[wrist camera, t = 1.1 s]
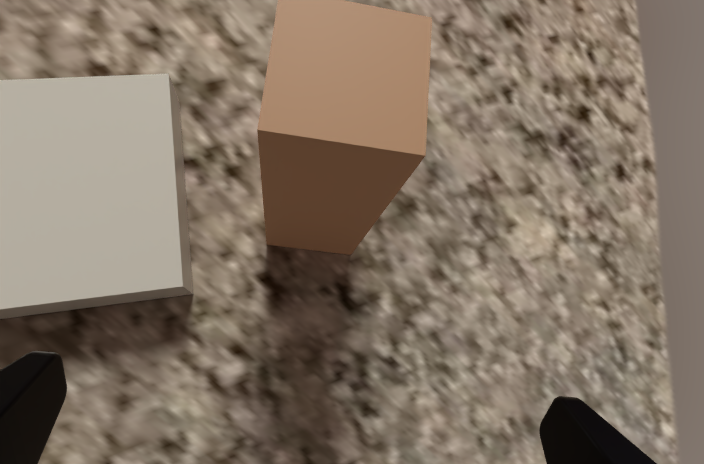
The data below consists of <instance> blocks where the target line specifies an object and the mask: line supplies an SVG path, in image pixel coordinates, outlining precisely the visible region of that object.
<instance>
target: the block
mask: <svg viewBox="0 0 704 464" xmlns="http://www.w3.org/2000/svg"><path fill="white" fill-rule="evenodd" d="M431 28H432V18H431V17H426V16H421V15H416V14H411V13H405V12H400V11H395V10H390V9H385V8H380V7H375V6H370V5H365V4H359V3H354V2H349V1H344V0H278V5H277V11H276V17H275V23H274V30H273V36H272V42H271V48H270V55H269V61H268V67H267V73H266V79H265V86H264V92H263V98H262V104H261V111H260V117H259V123H258V129H257V130H258V143H259V155H260V168H261V180H262V193H263V205H264V218H265V230H266V243H267V245H273V246H281V247H289V248H297V249H306V250H314V251H322V252H330V253H338V254H347V255H351V254H352V253H353V251H354V250H355V249H356V247H357V246H358V245H359V243H360V242H361V241H362V239H363V238H364V237H365V235H366V234H367V233H368V231H369V230H370V229H371V227H372V226H373V225H374V223H375V222H376V221H377V219H378V218H379V217H380V215H381V214H382V213H383V211H384V210H385V209H386V207H387V206H388V205H389V203H390V202H391V201H392V199H393V198H394V197H395V195H396V194H397V193H398V191H399V190H400V189H401V187H402V186H403V185H404V183H405V182H406V181H407V180H408V178H409V177H410V176H411V174H412V173H413V172H414V170H415V169H416V168H417V166H418V165H419V164H420V162H421V161H422V160H423V158H424V157H425V154H426V133H427V112H428V91H429V70H430V49H431Z"/></svg>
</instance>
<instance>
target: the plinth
mask: <svg viewBox="0 0 704 464" xmlns="http://www.w3.org/2000/svg"><path fill="white" fill-rule="evenodd" d="M190 294H193V283H192V269H191V255H190V241H189V228H188V214H187V200H186V186H185V172H184V159H183V145H182V131H181V117H180V103H179V100H178V97H177V94H176V92H175V89H174V87H173V84H172V81H171V79H170V76H169V74H148V75H123V76H98V77H73V78H47V79H22V80H0V319H5V318H12V317H20V316H28V315H36V314H43V313H51V312H59V311H67V310H74V309H82V308H90V307H97V306H105V305H113V304H121V303H128V302H136V301H144V300H152V299H159V298H167V297H175V296H182V295H190Z"/></svg>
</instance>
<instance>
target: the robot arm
mask: <svg viewBox="0 0 704 464" xmlns="http://www.w3.org/2000/svg"><path fill="white" fill-rule="evenodd" d="M66 392H67V384H66V379H65V373H64V368H63V362H62V358H61V356H60V355H59V354H58V353H55V352H43V351H32V352H30V353H28V354H26V355H24V356H22V357H21V358H19V359H18V360H16V361H14V362H13V363H11V364H9V365H8V366H6V367H4V368H3V369H1V370H0V464H38V462H39V459H40V457H41V454H42V452H43V450H44V447H45V445H46V443H47V440H48V438H49V436H50V433H51V431H52V429H53V426H54V424H55V422H56V419H57V417H58V414H59V412H60V410H61V407H62V405H63V403H64V400H65V397H66ZM540 438H541V442H542V446H543V450H544V454H545V458H546V462H547V464H656V463H655V462H654V461H653V460H652V459H651V458H649V457H648V456H647V455H646V454H645V453H643V452H642V451H641V450H640V449H639V448H638V447H636V446H635V445H634V444H633V443H632V442H630V441H629V440H628V439H627V438H626V437H625V436H623V435H622V434H621V433H620V432H619V431H617V430H616V429H615V428H614V427H613V426H612V425H610V424H609V423H608V422H607V421H606V420H604V419H603V418H602V417H601V416H600V415H598V414H597V413H596V412H595V411H594V410H593V409H591V408H590V407H589V406H588V405H587V404H585V403H584V402H583V401H582V400H580V399H578V398H574V397H563V396H559V397H557V398H555V399H554V400H553V402H552V404H551V406H550V407H549V409H548V411H547V413H546V415H545V416H544V418H543V420H542V422H541V424H540Z"/></svg>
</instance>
